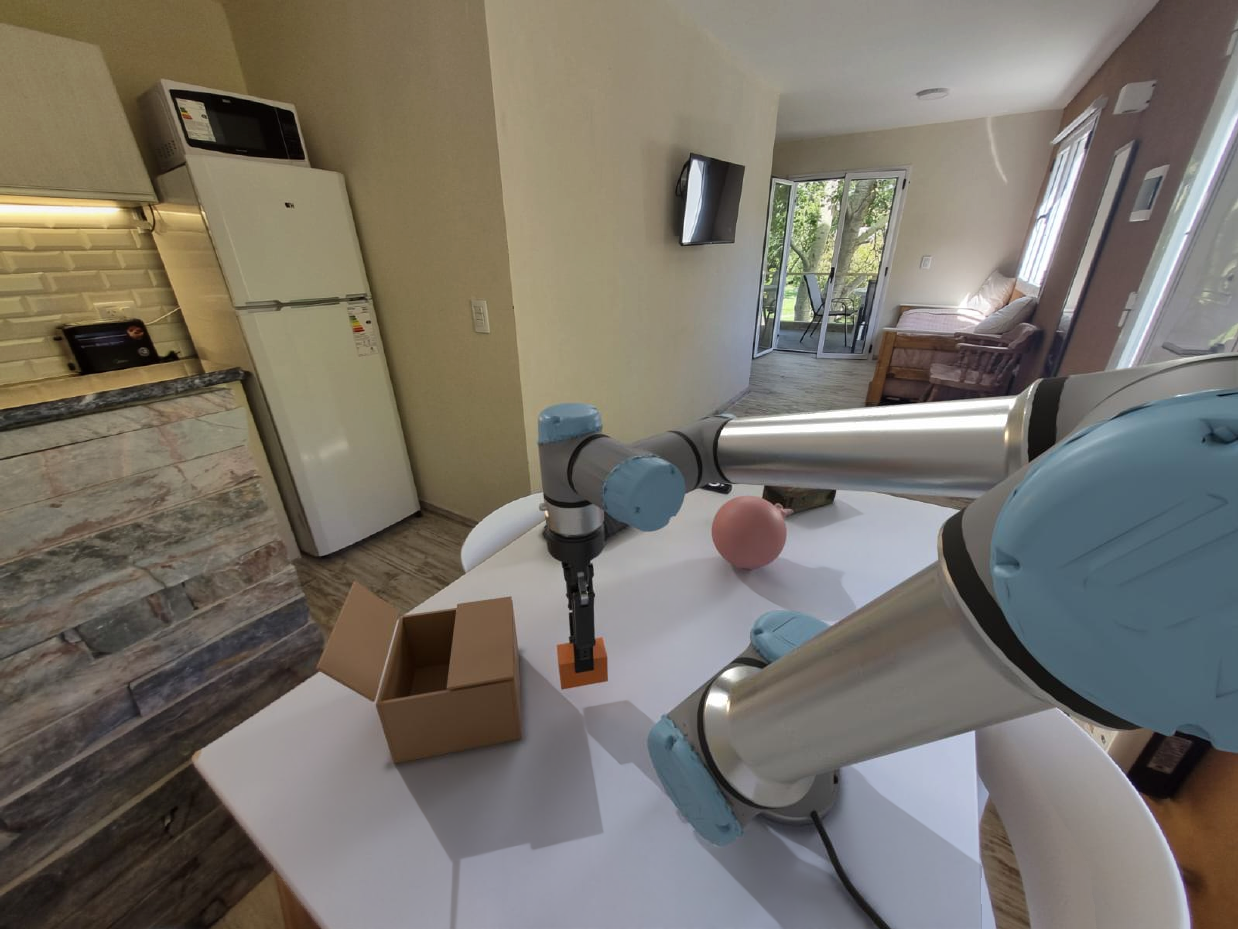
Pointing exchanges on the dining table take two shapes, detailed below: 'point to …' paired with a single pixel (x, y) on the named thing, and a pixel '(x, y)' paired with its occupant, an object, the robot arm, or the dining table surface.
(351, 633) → the flap
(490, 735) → the box
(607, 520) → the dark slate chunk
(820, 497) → the brown wooden block
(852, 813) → the dining table surface
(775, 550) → the balloon
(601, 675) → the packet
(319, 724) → the dining table surface
